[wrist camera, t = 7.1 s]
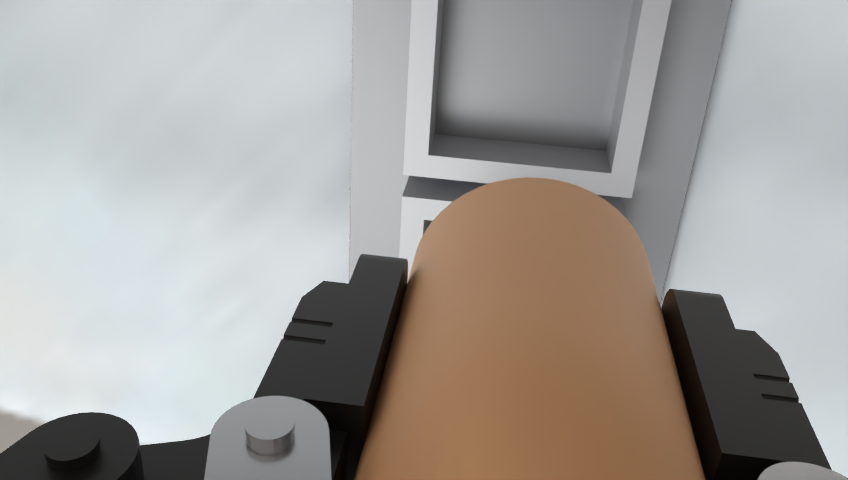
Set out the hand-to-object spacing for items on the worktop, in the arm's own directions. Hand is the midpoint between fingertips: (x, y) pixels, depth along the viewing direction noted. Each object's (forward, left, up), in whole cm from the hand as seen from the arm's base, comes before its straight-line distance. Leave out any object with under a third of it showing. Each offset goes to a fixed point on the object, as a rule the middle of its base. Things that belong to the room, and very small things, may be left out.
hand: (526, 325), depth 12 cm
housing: (+4, 0, -17) cm, 17 cm away
